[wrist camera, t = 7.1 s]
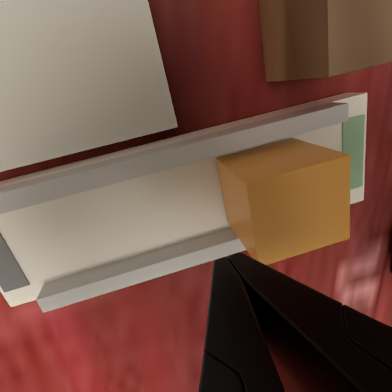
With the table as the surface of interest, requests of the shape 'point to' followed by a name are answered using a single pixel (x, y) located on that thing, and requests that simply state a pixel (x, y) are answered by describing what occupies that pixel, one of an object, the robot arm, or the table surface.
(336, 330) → the robot arm
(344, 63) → the joystick
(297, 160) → the orange cube
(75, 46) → the tool mat
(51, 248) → the switch panel
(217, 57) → the table surface
